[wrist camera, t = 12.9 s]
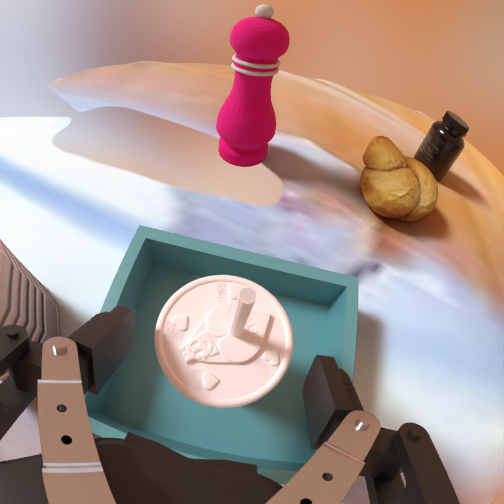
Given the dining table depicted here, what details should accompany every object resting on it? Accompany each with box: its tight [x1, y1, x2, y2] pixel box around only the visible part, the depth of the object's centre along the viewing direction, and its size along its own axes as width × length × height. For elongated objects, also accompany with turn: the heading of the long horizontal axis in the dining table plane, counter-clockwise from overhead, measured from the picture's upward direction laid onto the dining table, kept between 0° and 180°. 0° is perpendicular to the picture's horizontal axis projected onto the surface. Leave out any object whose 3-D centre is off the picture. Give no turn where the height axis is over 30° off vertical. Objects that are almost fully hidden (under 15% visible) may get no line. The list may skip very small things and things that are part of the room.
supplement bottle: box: [414, 111, 469, 180], centre depth 37 cm, size 7×7×12 cm
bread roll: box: [359, 136, 438, 222], centre depth 31 cm, size 13×10×8 cm
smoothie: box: [155, 275, 293, 408], centre depth 14 cm, size 6×6×14 cm
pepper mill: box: [216, 4, 289, 167], centre depth 27 cm, size 7×7×20 cm
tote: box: [84, 225, 358, 484], centre depth 19 cm, size 18×16×5 cm
